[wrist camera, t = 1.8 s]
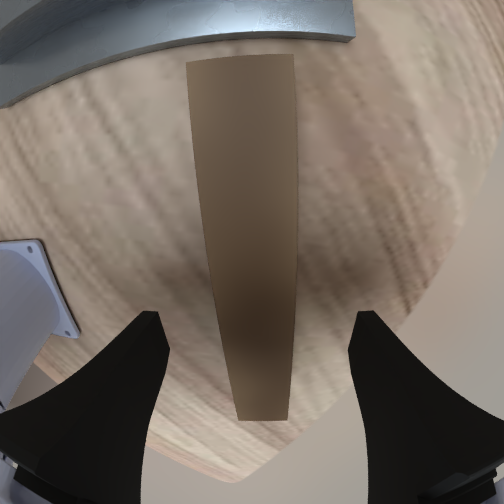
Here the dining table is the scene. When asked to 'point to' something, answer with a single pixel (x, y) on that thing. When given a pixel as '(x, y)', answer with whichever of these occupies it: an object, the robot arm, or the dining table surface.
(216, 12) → the stand
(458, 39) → the dining table surface
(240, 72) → the walnut rod
